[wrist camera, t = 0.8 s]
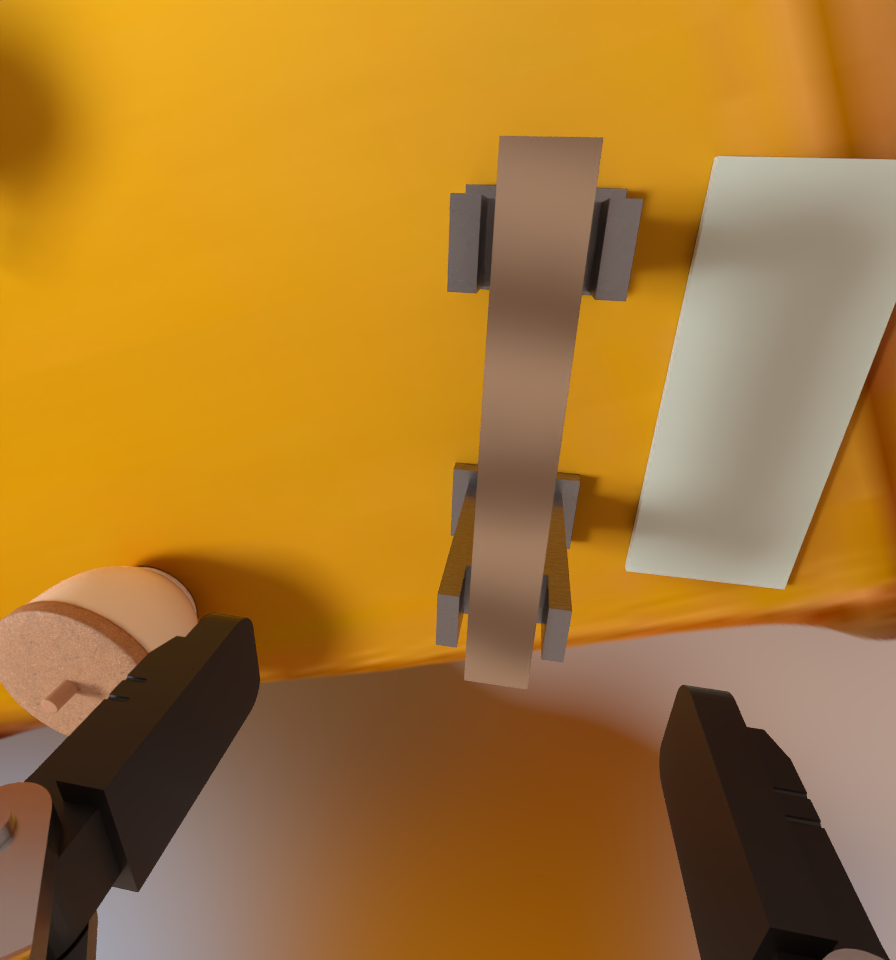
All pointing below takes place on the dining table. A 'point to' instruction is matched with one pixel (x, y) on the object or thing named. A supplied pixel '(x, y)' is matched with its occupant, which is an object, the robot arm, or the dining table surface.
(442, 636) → the forked posts
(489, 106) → the dining table surface
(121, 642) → the lidded bowl
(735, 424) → the white flat slab
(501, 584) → the walnut bar
